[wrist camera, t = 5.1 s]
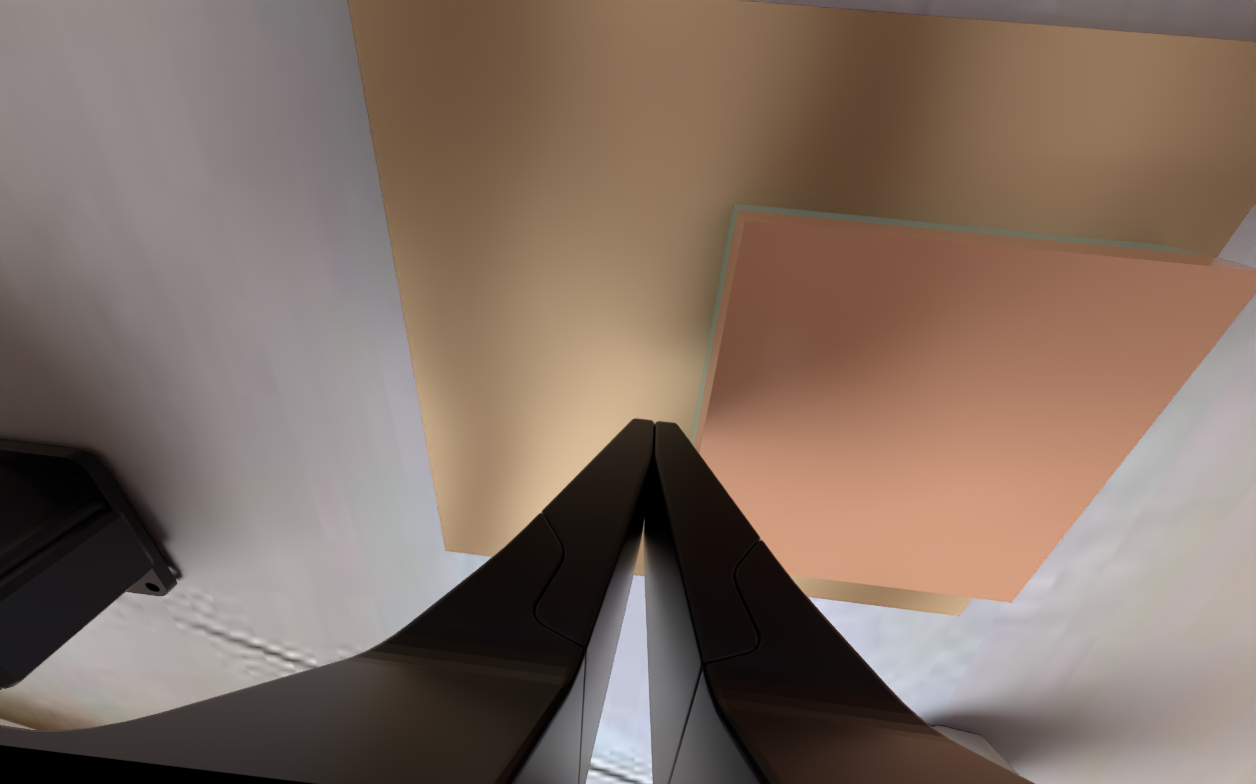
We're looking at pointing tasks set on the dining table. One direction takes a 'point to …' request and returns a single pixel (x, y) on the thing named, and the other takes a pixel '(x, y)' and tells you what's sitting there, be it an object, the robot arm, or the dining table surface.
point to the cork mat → (730, 191)
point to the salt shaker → (974, 745)
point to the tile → (939, 387)
